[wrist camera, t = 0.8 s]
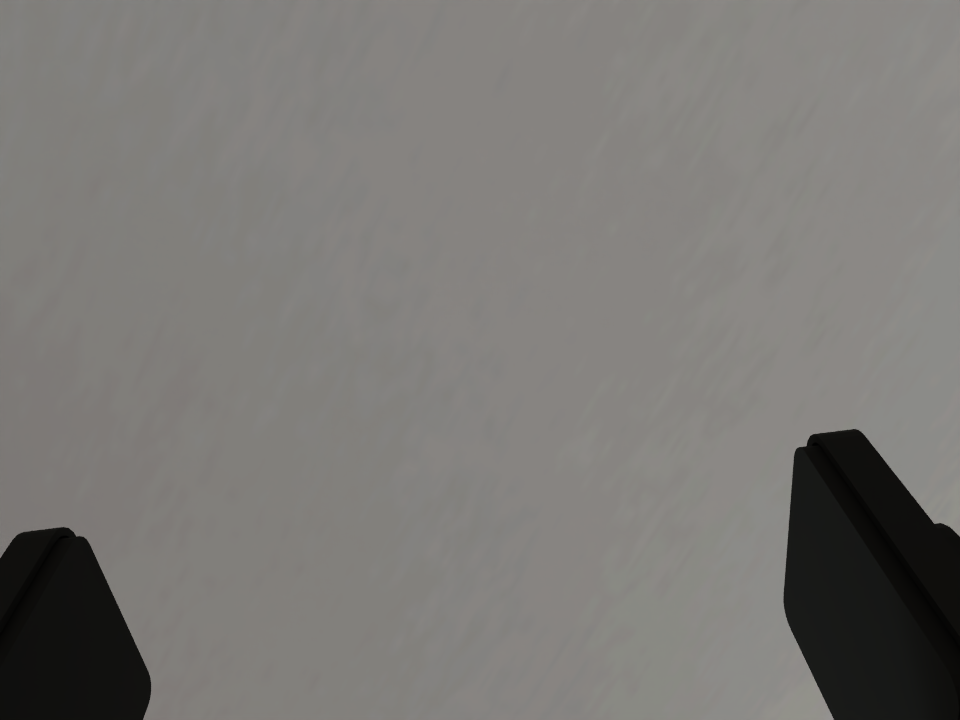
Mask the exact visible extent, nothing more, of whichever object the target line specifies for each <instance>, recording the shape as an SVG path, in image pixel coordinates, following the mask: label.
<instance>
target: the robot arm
mask: <svg viewBox="0 0 960 720" xmlns="http://www.w3.org/2000/svg"><path fill="white" fill-rule="evenodd" d="M784 609H785V613H786V617H787V621H788V624H789V626H790V628H791V631H792V633H793V635H794V637H795V639H796V641H797V643H798V645H799V647H800V649H801V651H802V654H803V656H804V658H805V660H806V662H807V664H808V666H809V668H810V670H811V672H812V674H813V677H814V679H815V681H816V683H817V685H818V687H819V689H820V691H821V693H822V695H823V697H824V700H825V702H826V704H827V706H828V708H829V710H830V712H831V714H832V716H833V718H834V720H960V537H959V536H958V535H957V534H956V533H955V532H954V531H953V530H952V529H951V528H950V527H948V526H946V525H944V524H942V523H938V524H934V523H933V522H932V520H931V519H930V518H929V517H928V515H927V514H926V513H925V512H924V510H923V509H922V508H921V506H920V505H919V504H918V503H917V501H916V500H915V499H914V498H913V496H912V495H911V494H910V493H909V491H908V490H907V489H906V487H905V486H904V485H903V484H902V482H901V481H900V480H899V479H898V477H897V476H896V475H895V473H894V472H893V471H892V470H891V468H890V467H889V466H888V465H887V463H886V462H885V461H884V460H883V458H882V457H881V456H880V454H879V453H878V452H877V451H876V449H875V448H874V447H873V446H872V444H871V443H870V442H869V440H868V439H867V438H866V437H865V435H864V434H863V433H862V432H860V431H859V430H856V429H852V430H844V431H836V432H828V433H820V434H813V435H811V436H810V438H809V440H808V443H807V446H806V447H799V448H797V449H796V451H795V455H794V465H793V478H792V492H791V505H790V518H789V531H788V545H787V558H786V571H785V585H784ZM150 695H151V680H150V675H149V672H148V670H147V668H146V666H145V664H144V661H143V659H142V657H141V655H140V653H139V650H138V648H137V646H136V644H135V642H134V640H133V637H132V635H131V633H130V631H129V629H128V627H127V624H126V622H125V620H124V618H123V616H122V614H121V611H120V609H119V607H118V605H117V603H116V600H115V598H114V596H113V594H112V592H111V590H110V587H109V585H108V583H107V581H106V579H105V577H104V574H103V572H102V570H101V568H100V566H99V564H98V561H97V559H96V557H95V555H94V553H93V550H92V548H91V546H90V544H89V542H88V541H87V539H85V538H84V537H81V536H78V537H76V535H75V534H74V532H73V531H72V530H70V529H69V528H65V527H61V528H53V529H45V530H37V531H29V532H23V533H20V534H18V535H17V536H16V537H15V538H14V539H13V540H12V542H11V543H10V545H9V546H8V548H7V549H6V551H5V552H4V554H3V555H2V557H1V558H0V720H143V718H144V715H145V712H146V710H147V707H148V704H149V700H150Z"/></svg>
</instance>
